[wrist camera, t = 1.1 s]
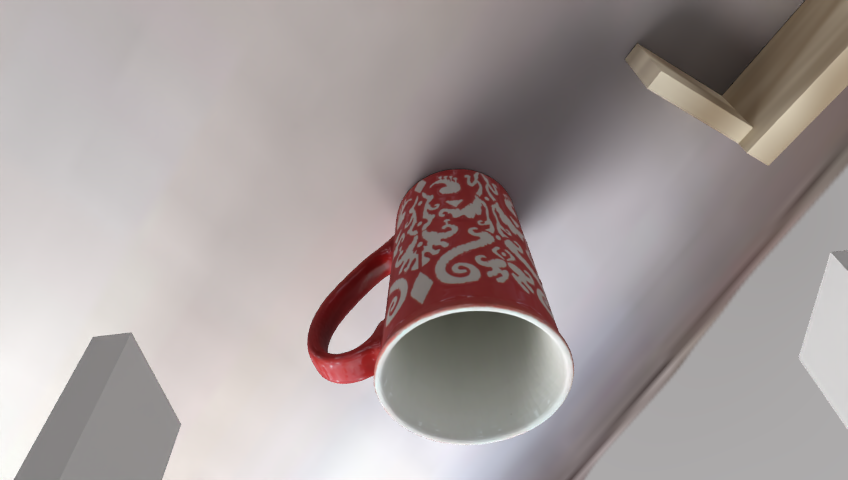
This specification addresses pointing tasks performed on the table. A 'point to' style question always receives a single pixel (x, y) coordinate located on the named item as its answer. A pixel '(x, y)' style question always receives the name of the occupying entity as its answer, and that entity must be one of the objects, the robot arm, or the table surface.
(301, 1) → the table surface
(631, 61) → the beige block
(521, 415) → the mug
